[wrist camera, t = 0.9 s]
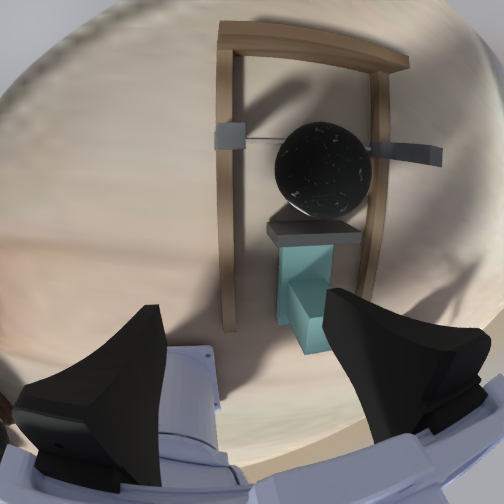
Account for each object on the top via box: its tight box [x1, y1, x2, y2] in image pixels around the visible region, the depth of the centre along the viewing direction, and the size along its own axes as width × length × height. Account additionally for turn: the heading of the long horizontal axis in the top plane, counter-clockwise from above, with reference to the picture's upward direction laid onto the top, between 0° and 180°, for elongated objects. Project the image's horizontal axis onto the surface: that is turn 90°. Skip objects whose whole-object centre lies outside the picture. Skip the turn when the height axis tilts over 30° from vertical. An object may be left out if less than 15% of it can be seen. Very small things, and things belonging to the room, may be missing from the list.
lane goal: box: [215, 21, 443, 333], centre depth 17 cm, size 22×13×7 cm, turn 0°
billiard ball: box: [275, 122, 372, 219], centre depth 16 cm, size 6×6×6 cm
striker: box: [267, 220, 362, 355], centre depth 19 cm, size 8×6×6 cm
